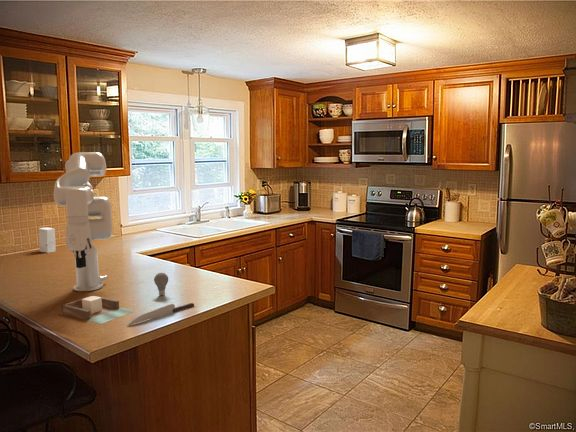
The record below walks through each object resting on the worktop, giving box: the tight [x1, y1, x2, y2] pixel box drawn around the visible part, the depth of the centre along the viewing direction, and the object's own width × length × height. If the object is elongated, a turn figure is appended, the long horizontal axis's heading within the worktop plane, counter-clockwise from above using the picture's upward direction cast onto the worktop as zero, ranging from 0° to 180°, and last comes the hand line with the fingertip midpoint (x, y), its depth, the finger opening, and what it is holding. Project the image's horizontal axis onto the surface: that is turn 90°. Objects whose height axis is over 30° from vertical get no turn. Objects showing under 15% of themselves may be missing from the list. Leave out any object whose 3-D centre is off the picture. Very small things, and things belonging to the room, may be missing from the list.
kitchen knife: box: [125, 302, 195, 328], centre depth 180 cm, size 4×1×30 cm
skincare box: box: [38, 227, 57, 254], centre depth 295 cm, size 8×6×15 cm
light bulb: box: [153, 272, 169, 296], centre depth 205 cm, size 6×6×10 cm
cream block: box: [81, 295, 102, 314], centre depth 183 cm, size 5×5×5 cm
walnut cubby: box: [60, 295, 135, 325], centre depth 182 cm, size 16×23×4 cm
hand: (81, 267), depth 183 cm, fingers closed
